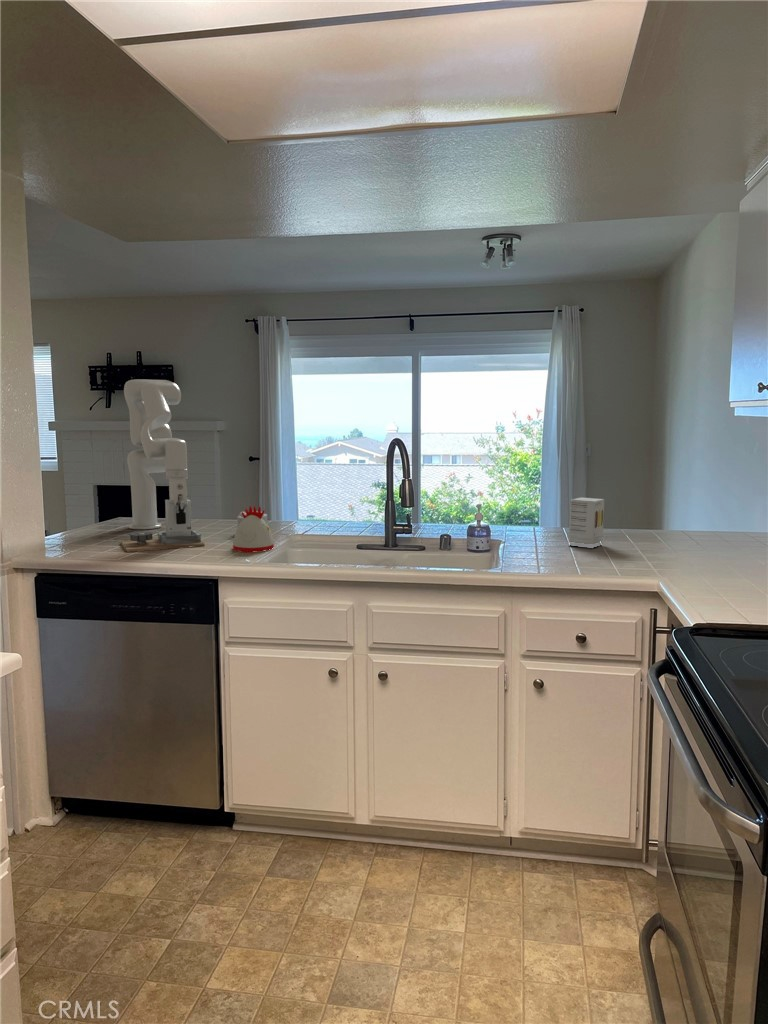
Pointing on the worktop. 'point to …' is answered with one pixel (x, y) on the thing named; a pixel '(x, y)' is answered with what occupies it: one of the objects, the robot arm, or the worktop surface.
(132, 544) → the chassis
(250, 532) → the white red crested helmet
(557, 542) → the worktop surface
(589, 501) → the supplement box
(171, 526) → the skincare box
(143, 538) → the wheel
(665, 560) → the worktop surface
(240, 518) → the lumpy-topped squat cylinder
